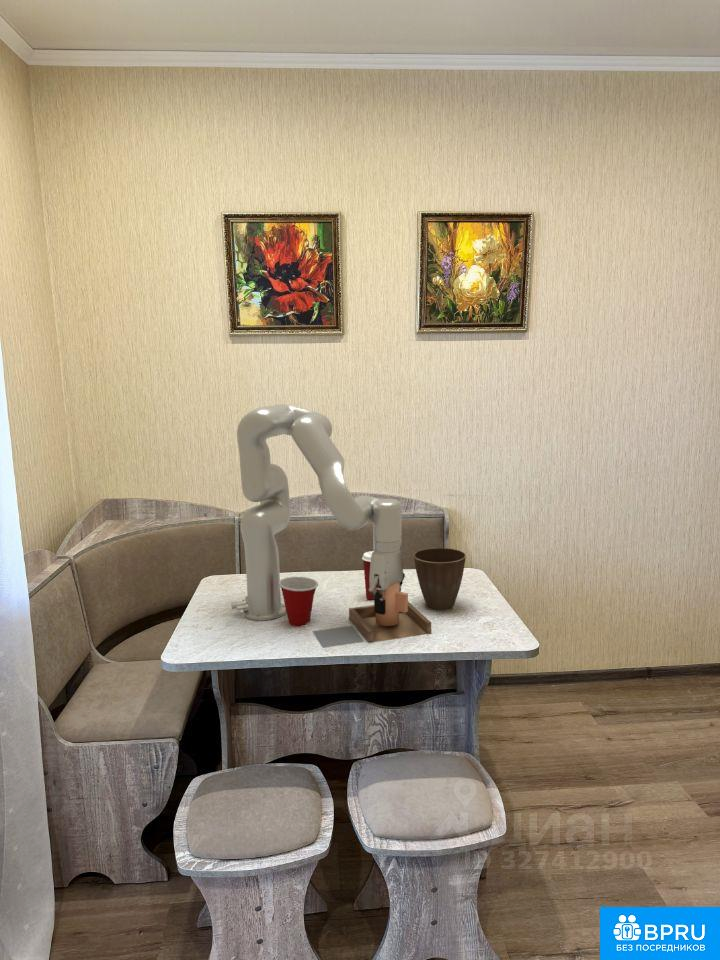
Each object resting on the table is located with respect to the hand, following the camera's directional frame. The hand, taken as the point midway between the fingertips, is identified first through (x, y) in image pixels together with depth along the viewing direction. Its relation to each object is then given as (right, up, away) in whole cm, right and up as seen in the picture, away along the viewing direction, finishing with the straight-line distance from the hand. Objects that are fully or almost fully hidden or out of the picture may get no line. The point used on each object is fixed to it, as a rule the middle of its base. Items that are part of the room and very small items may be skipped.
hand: (387, 608), depth 184 cm
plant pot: (+16, -3, +15) cm, 22 cm away
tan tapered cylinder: (+1, -4, 0) cm, 4 cm away
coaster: (-13, -7, -5) cm, 16 cm away
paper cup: (-3, -1, +24) cm, 24 cm away
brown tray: (0, -5, +1) cm, 5 cm away
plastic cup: (-24, -5, +6) cm, 25 cm away
